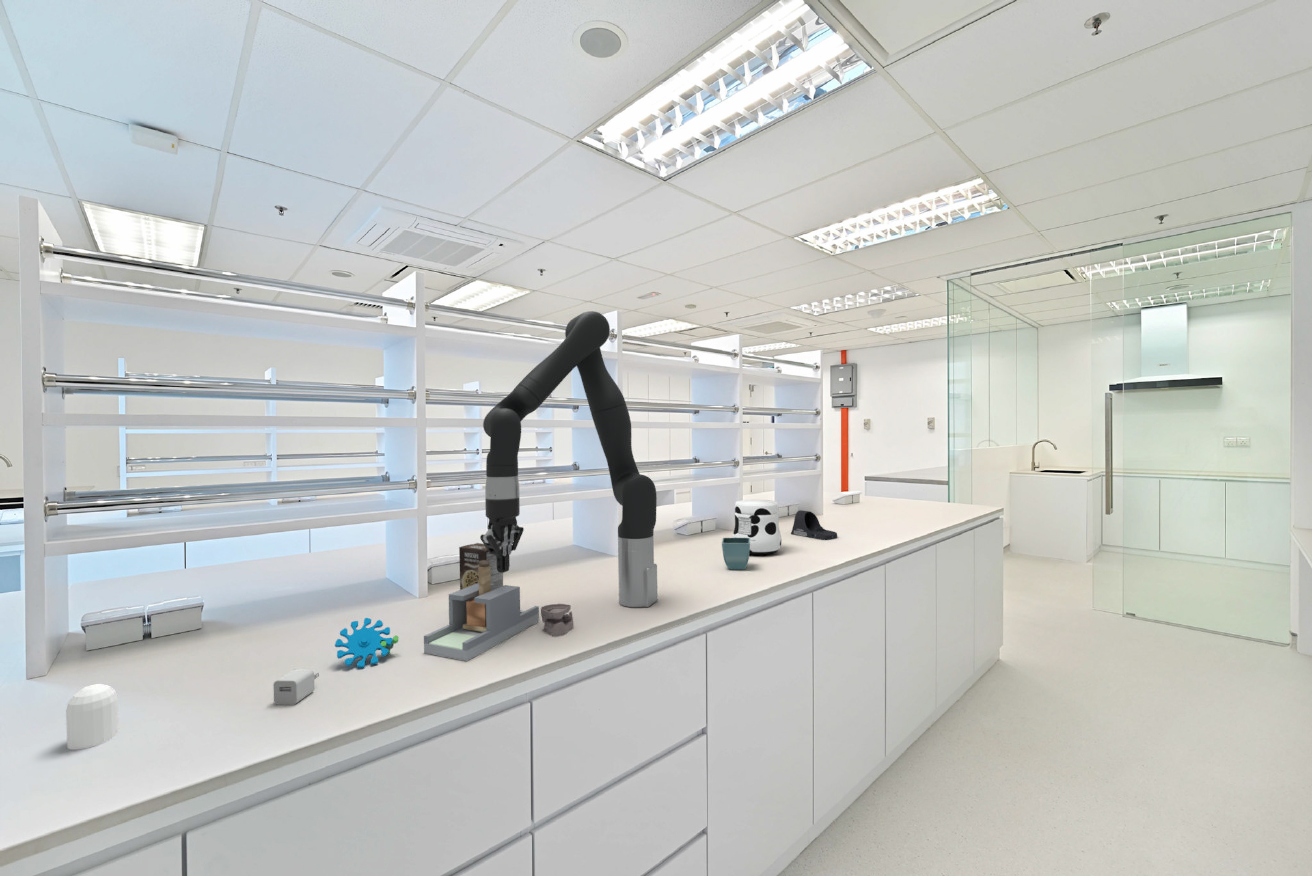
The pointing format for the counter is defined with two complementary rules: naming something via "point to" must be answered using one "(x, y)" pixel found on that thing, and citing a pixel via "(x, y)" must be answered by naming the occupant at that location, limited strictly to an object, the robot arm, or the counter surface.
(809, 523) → the sight
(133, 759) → the counter surface
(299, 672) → the usb wall charger
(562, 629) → the dental mold
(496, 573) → the coffee box
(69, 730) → the white domed cylinder
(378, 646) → the gear
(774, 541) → the milk container
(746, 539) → the flower pot
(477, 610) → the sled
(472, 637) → the tunnel
